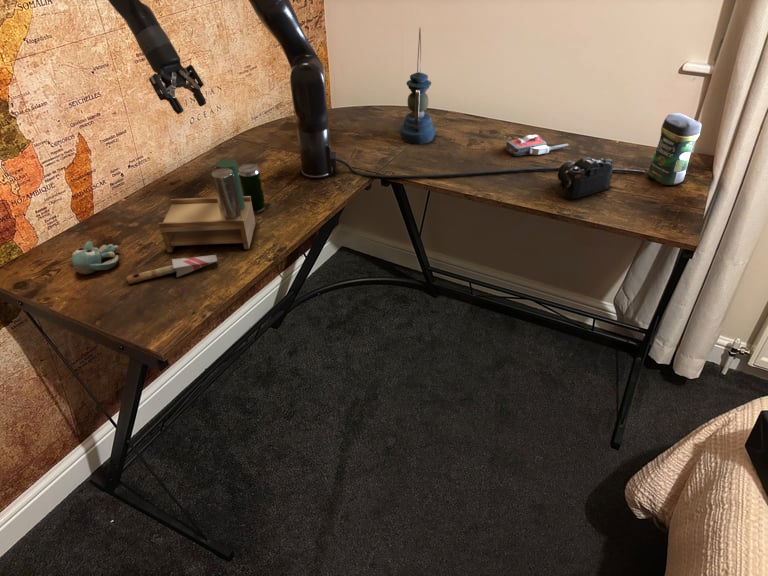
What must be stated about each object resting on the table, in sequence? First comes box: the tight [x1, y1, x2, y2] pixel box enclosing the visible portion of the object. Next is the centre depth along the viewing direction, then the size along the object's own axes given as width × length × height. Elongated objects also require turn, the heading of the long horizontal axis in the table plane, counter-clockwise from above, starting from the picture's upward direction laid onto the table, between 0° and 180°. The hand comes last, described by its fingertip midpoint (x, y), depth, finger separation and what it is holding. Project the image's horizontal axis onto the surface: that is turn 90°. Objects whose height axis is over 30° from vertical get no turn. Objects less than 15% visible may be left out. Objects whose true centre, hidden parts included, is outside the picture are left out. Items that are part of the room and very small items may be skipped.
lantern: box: [399, 28, 436, 145], centre depth 177 cm, size 14×12×35 cm
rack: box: [158, 158, 257, 253], centre depth 135 cm, size 20×12×19 cm, turn 93°
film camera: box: [557, 156, 615, 200], centre depth 155 cm, size 18×12×10 cm
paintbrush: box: [126, 254, 218, 285], centre depth 128 cm, size 4×3×20 cm
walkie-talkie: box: [505, 133, 569, 157], centre depth 177 cm, size 9×4×20 cm
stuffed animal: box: [71, 240, 120, 275], centre depth 130 cm, size 11×7×12 cm
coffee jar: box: [647, 112, 702, 186], centre depth 156 cm, size 10×8×19 cm
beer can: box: [238, 163, 266, 214], centre depth 148 cm, size 5×5×12 cm
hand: (192, 108), depth 146 cm, fingers open, 8 cm apart
